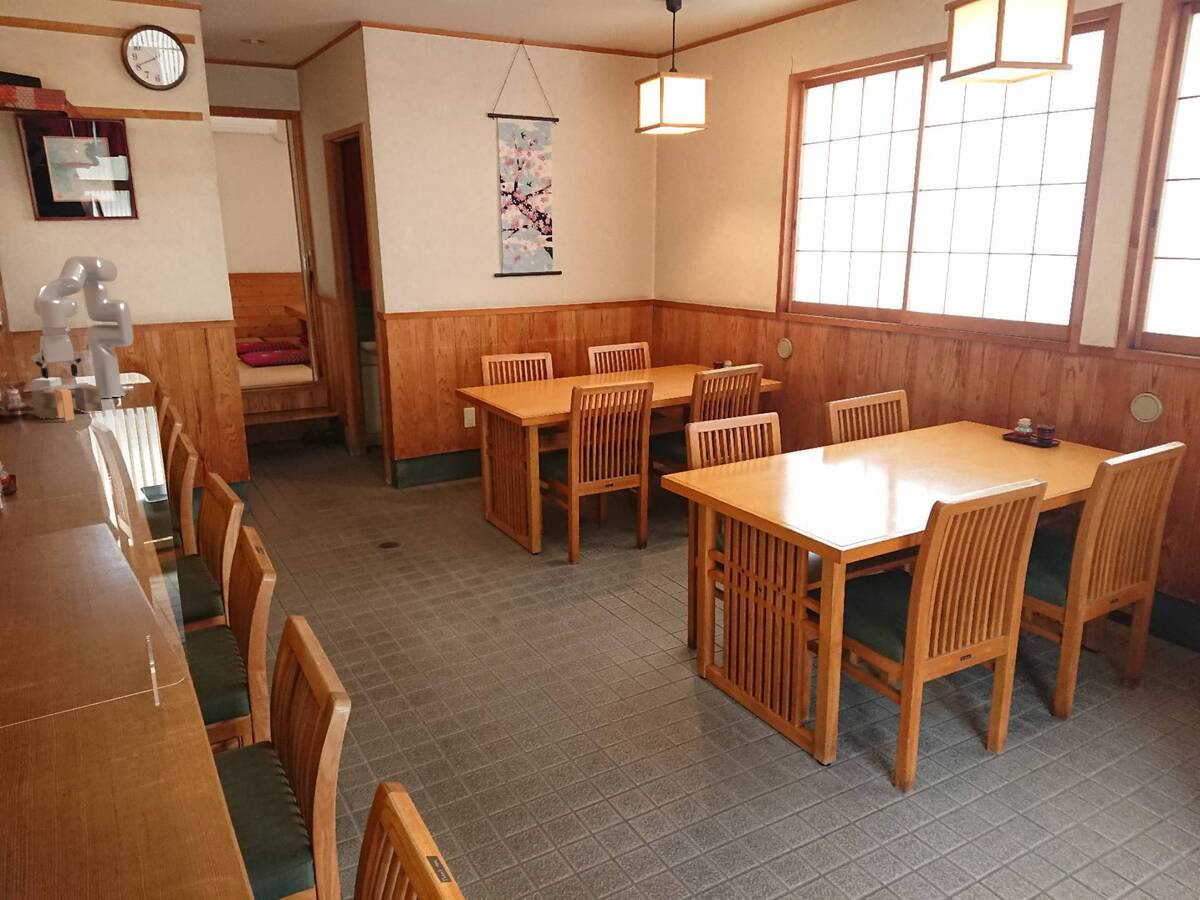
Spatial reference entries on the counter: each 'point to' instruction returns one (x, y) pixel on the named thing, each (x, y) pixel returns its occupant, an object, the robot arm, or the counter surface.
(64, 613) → the counter surface
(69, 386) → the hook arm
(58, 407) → the orange wooden block
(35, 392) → the shelf
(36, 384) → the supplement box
